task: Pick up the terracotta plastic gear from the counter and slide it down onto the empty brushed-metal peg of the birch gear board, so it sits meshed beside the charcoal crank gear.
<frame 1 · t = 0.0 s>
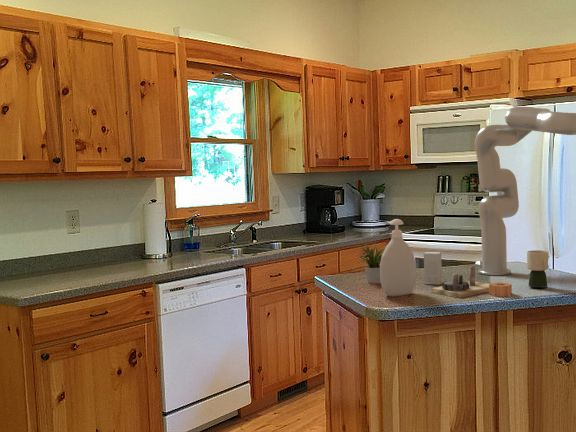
skincare box: (433, 284, 226), on the table
character mug: (538, 288, 210), on the table
house plant: (370, 282, 234), on the table
soap bottle: (397, 295, 209), on the table
loose gear: (500, 294, 202), on the table
gear board: (464, 290, 210), on the table
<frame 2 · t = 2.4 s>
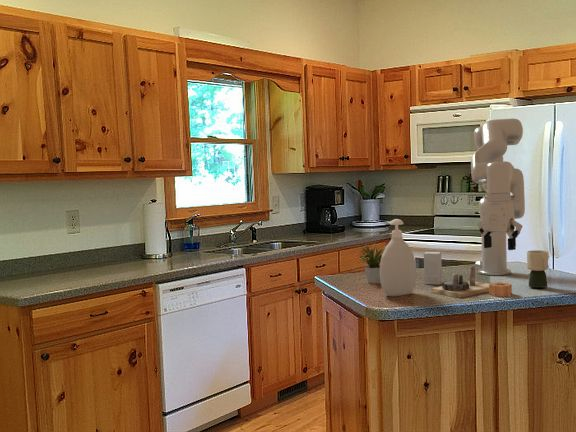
hand: (499, 248, 201), 16 cm above the table, tool pointing down, fingers open, 9 cm apart
nothing on the table moved.
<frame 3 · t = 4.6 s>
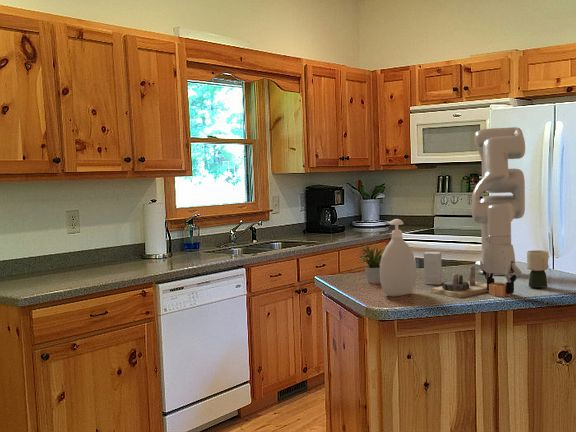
hand: (500, 291, 202), 1 cm above the table, tool pointing down, fingers closed on loose gear, 7 cm apart
loose gear: (500, 294, 202), on the table, touching gripper
everything else where it was.
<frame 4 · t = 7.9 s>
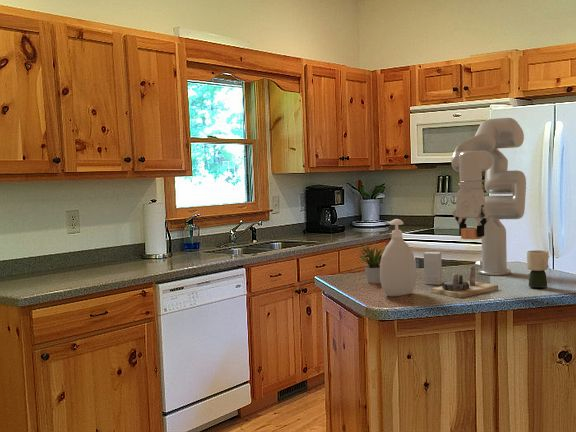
hand: (471, 235, 211), 20 cm above the table, tool pointing down, fingers closed on loose gear, 7 cm apart
loose gear: (471, 238, 211), point 18 cm above the table, touching gripper
everything else where it was.
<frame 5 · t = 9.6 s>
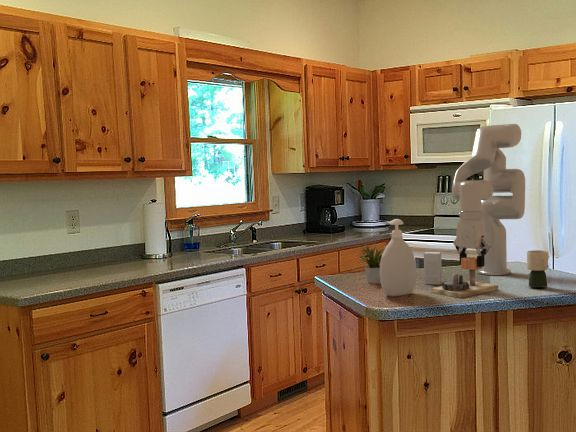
hand: (471, 265, 212), 9 cm above the table, tool pointing down, fingers closed on loose gear, 7 cm apart
loose gear: (471, 267, 212), point 8 cm above the table, touching gripper
everything else where it was.
when the fingers open (3 cm above the table, at t = 11.2 s): loose gear stays where it is, resting on gear board.
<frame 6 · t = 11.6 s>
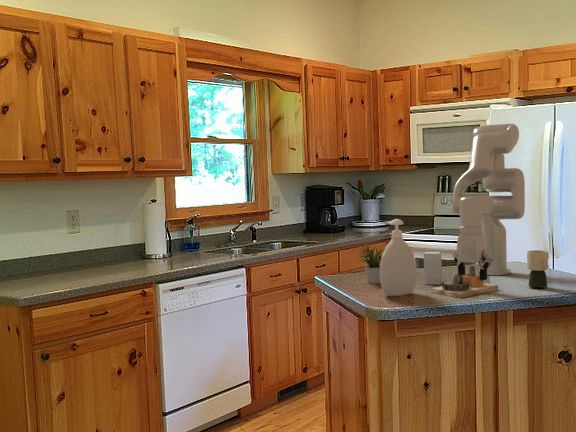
hand: (472, 278, 212), 4 cm above the table, tool pointing down, fingers open, 9 cm apart
loose gear: (472, 285, 212), point 1 cm above the table, touching gear board
everything else where it was.
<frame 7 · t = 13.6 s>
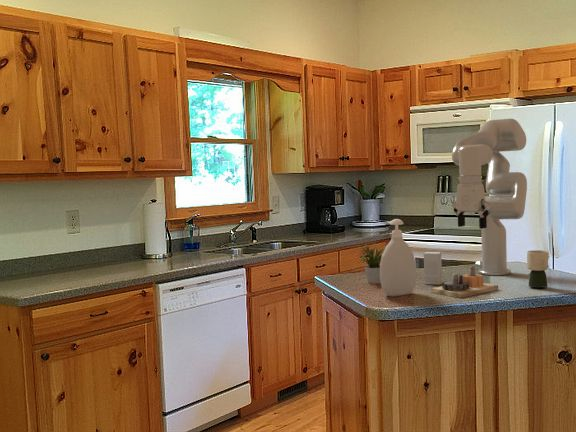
hand: (472, 227, 215), 22 cm above the table, tool pointing down, fingers open, 9 cm apart
nothing on the table moved.
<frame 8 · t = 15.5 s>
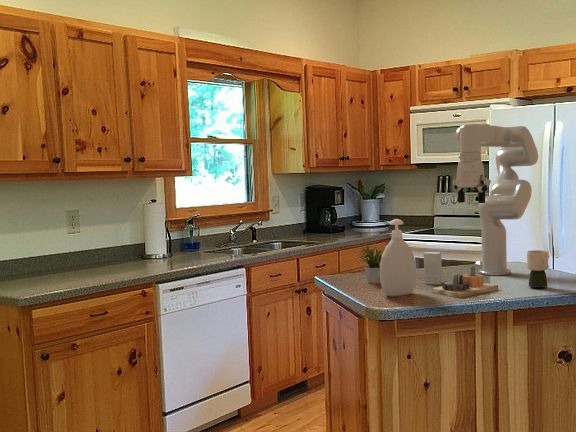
hand: (471, 202, 223), 30 cm above the table, tool pointing down, fingers open, 9 cm apart
nothing on the table moved.
at the end: loose gear 0.0 cm from the target spot on the gear board, point 1.5 cm above the gear board's base; loose gear tilted 0°; the gripper is holding nothing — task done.
